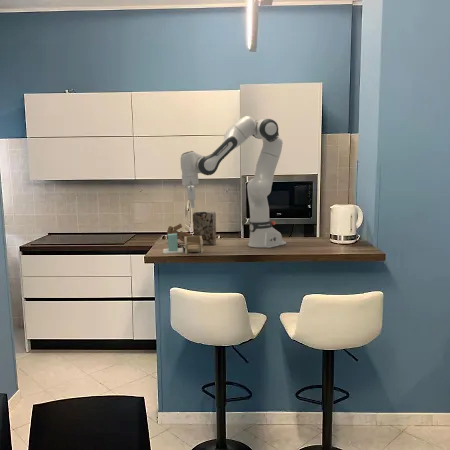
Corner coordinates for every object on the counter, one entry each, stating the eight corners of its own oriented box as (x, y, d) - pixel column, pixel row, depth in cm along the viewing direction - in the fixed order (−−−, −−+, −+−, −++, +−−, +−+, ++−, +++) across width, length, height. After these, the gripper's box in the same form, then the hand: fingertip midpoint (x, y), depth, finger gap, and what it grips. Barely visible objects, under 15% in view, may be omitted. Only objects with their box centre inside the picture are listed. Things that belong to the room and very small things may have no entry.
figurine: (185, 249, 293) (164, 239, 296) (186, 248, 296) (165, 239, 299) (192, 230, 290) (170, 220, 293) (193, 229, 292) (172, 219, 295)
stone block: (217, 243, 289) (215, 210, 286) (214, 245, 282) (213, 212, 279) (196, 243, 292) (194, 210, 289) (193, 245, 285) (191, 212, 282)
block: (168, 249, 271) (168, 233, 270) (177, 249, 272) (176, 233, 271) (168, 251, 266) (167, 235, 265) (177, 250, 267) (176, 234, 266)
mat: (163, 250, 274) (163, 248, 274) (183, 249, 275) (183, 247, 275) (163, 254, 263) (162, 252, 263) (183, 252, 264) (183, 251, 264)
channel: (185, 248, 277) (184, 236, 276) (202, 247, 278) (201, 235, 277) (185, 254, 260) (184, 241, 259) (203, 253, 261) (202, 240, 260)
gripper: (196, 182, 250) (198, 208, 252) (195, 180, 270) (198, 204, 272) (184, 183, 250) (186, 209, 252) (184, 181, 270) (187, 205, 272)
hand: (192, 206), depth 262 cm, fingers open, 8 cm apart
